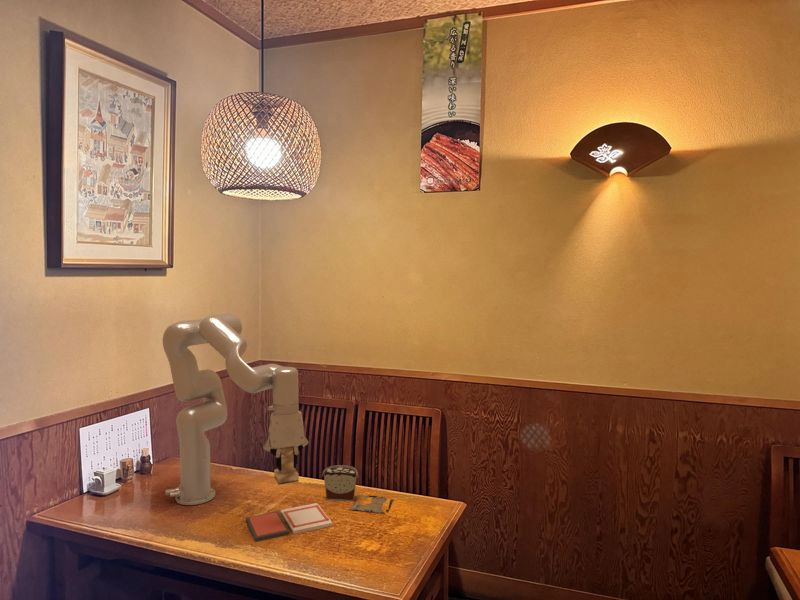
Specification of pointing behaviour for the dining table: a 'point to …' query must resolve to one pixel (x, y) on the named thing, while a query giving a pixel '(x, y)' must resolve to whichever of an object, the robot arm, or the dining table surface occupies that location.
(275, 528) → the ink pad
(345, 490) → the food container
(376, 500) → the parchment
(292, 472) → the stamp
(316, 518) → the marked board
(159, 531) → the dining table surface
